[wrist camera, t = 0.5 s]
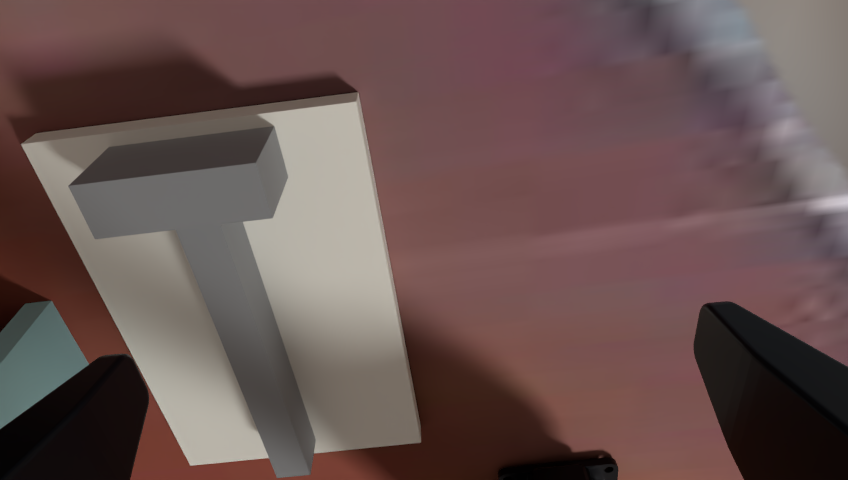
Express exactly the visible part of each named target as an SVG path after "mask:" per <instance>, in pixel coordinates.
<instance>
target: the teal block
mask: <svg viewBox="0 0 848 480" xmlns="http://www.w3.org/2000/svg"><path fill="white" fill-rule="evenodd" d="M88 365H89V364H88V362H87V360H86V358H85V357H84V355H83V353H82V352H81V350H80V348H79V347H78V345H77V343H76V341H75V340H74V338H73V336H72V335H71V333H70V331H69V330H68V328H67V326H66V324H65V323H64V321H63V319H62V318H61V316H60V314H59V313H58V311H57V309H56V307H55V306H54V304H53V302H52V301H44V302H35V303H26V304H24V306H23V307H22V308H21V309H20V310H19V311H18V312H17V314H16V315H15V316H14V317H13V318H12V319H11V321H10V322H9V323H8V324H7V325H6V326H5V328H4V329H3V330H2V331H1V332H0V429H1V428H2V427H4V426H5V425H6V424H8V423H9V422H11V421H12V420H13V419H15V418H16V417H17V416H19V415H20V414H22V413H23V412H24V411H26V410H27V409H28V408H30V407H31V406H33V405H34V404H35V403H37V402H38V401H40V400H41V399H42V398H44V397H45V396H46V395H48V394H49V393H51V392H52V391H53V390H55V389H56V388H57V387H59V386H60V385H62V384H63V383H64V382H66V381H67V380H68V379H70V378H71V377H73V376H74V375H75V374H77V373H78V372H79V371H81V370H82V369H84V368H85V367H86V366H88Z"/></svg>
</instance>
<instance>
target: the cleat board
mask: <svg viewBox="0 0 848 480" xmlns="http://www.w3.org/2000/svg"><path fill="white" fill-rule="evenodd" d="M21 145H22V147H23V149H24V151H25V153H26V155H27V157H28V159H29V161H30V163H31V164H32V166H33V168H34V170H35V172H36V174H37V176H38V178H39V180H40V181H41V183H42V185H43V187H44V189H45V191H46V193H47V195H48V197H49V199H50V200H51V202H52V204H53V206H54V208H55V210H56V212H57V214H58V216H59V217H60V219H61V221H62V223H63V225H64V227H65V229H66V231H67V233H68V234H69V236H70V238H71V240H72V242H73V244H74V246H75V248H76V250H77V252H78V253H79V255H80V257H81V259H82V261H83V263H84V265H85V267H86V269H87V270H88V272H89V274H90V276H91V278H92V280H93V282H94V284H95V286H96V288H97V289H98V291H99V293H100V295H101V297H102V299H103V301H104V303H105V305H106V306H107V308H108V310H109V312H110V314H111V316H112V318H113V320H114V322H115V324H116V325H117V327H118V329H119V331H120V333H121V335H122V337H123V339H124V341H125V342H126V344H127V346H128V348H129V350H130V352H131V354H132V356H133V358H134V360H135V361H136V363H137V365H138V367H139V369H140V371H141V373H142V375H143V377H144V378H145V380H146V382H147V384H148V386H149V388H150V390H151V392H152V394H153V396H154V397H155V399H156V401H157V403H158V405H159V407H160V409H161V411H162V413H163V414H164V416H165V418H166V420H167V422H168V424H169V426H170V428H171V430H172V432H173V433H174V435H175V437H176V439H177V441H178V443H179V445H180V447H181V449H182V450H183V452H184V454H185V456H186V458H187V460H188V462H189V464H190V466H192V465H202V464H212V463H222V462H232V461H242V460H252V459H262V458H269V459H270V462H271V464H272V466H273V469H274V471H275V474H276V476H277V478H282V477H292V476H302V475H310V474H311V468H312V461H313V455H314V453H323V452H333V451H343V450H353V449H363V448H373V447H383V446H393V445H403V444H413V443H421V425H420V419H419V414H418V409H417V403H416V398H415V393H414V387H413V382H412V377H411V371H410V366H409V361H408V355H407V350H406V345H405V339H404V334H403V329H402V323H401V318H400V312H399V307H398V302H397V296H396V291H395V286H394V280H393V275H392V270H391V264H390V259H389V254H388V248H387V243H386V238H385V232H384V227H383V222H382V216H381V211H380V205H379V200H378V195H377V189H376V184H375V179H374V173H373V168H372V163H371V157H370V152H369V147H368V141H367V136H366V131H365V125H364V120H363V115H362V109H361V104H360V98H359V93H358V92H355V93H347V94H339V95H332V96H324V97H316V98H308V99H300V100H292V101H285V102H277V103H269V104H261V105H253V106H245V107H238V108H230V109H222V110H214V111H206V112H198V113H191V114H183V115H175V116H167V117H159V118H152V119H144V120H136V121H128V122H120V123H112V124H105V125H97V126H89V127H81V128H73V129H65V130H58V131H50V132H42V133H36V134H34V135H33V136H31V137H30V138H29V139H27V140H26V141H25V142H23V143H22V144H21Z"/></svg>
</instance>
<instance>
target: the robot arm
mask: <svg viewBox="0 0 848 480" xmlns="http://www.w3.org/2000/svg"><path fill="white" fill-rule="evenodd" d="M694 355H695V359H696V362H697V364H698V367H699V370H700V372H701V375H702V378H703V381H704V383H705V386H706V389H707V392H708V394H709V397H710V400H711V403H712V405H713V408H714V411H715V413H716V416H717V419H718V422H719V424H720V427H721V430H722V433H723V435H724V438H725V440H726V443H727V445H728V448H729V450H730V452H731V454H732V456H733V458H734V460H735V462H736V464H737V466H738V468H739V470H740V472H741V474H742V476H743V478H744V480H848V367H847V366H845V365H844V364H842V363H840V362H838V361H837V360H835V359H833V358H831V357H829V356H828V355H826V354H824V353H822V352H821V351H819V350H817V349H815V348H813V347H812V346H810V345H808V344H806V343H805V342H803V341H801V340H799V339H797V338H796V337H794V336H792V335H790V334H789V333H787V332H785V331H783V330H782V329H780V328H778V327H776V326H774V325H773V324H771V323H769V322H767V321H766V320H764V319H762V318H760V317H758V316H757V315H755V314H753V313H751V312H750V311H748V310H746V309H744V308H742V307H741V306H739V305H737V304H735V303H733V302H728V301H726V302H714V303H706V304H704V305H703V306H702V308H701V310H700V313H699V318H698V324H697V329H696V334H695V339H694ZM148 404H149V394H148V390H147V387H146V385H145V383H144V381H143V379H142V377H141V375H140V372H139V370H138V368H137V366H136V364H135V362H134V360H133V359H132V357H131V356H129V355H128V354H114V355H105V356H101V357H99V358H97V359H96V360H95V361H93V362H92V363H90V364H89V365H88V366H86V367H85V368H84V369H82V370H81V371H79V372H78V373H77V374H75V375H74V376H73V377H71V378H70V379H68V380H67V381H66V382H64V383H63V384H62V385H60V386H59V387H57V388H56V389H55V390H53V391H52V392H51V393H49V394H48V395H46V396H45V397H44V398H42V399H41V400H40V401H38V402H37V403H35V404H34V405H33V406H31V407H30V408H28V409H27V410H26V411H24V412H23V413H22V414H20V415H19V416H17V417H16V418H15V419H13V420H12V421H11V422H9V423H8V424H6V425H5V426H4V427H2V428H1V429H0V480H130V478H131V474H132V469H133V465H134V461H135V457H136V453H137V449H138V445H139V441H140V437H141V433H142V429H143V425H144V421H145V417H146V413H147V409H148ZM617 477H618V466H617V463H616V461H615V460H614V459H613V458H600V459H589V460H579V461H569V462H558V463H548V464H538V465H527V466H517V467H507V468H502V469H501V470H499V472H498V480H617Z"/></svg>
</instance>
